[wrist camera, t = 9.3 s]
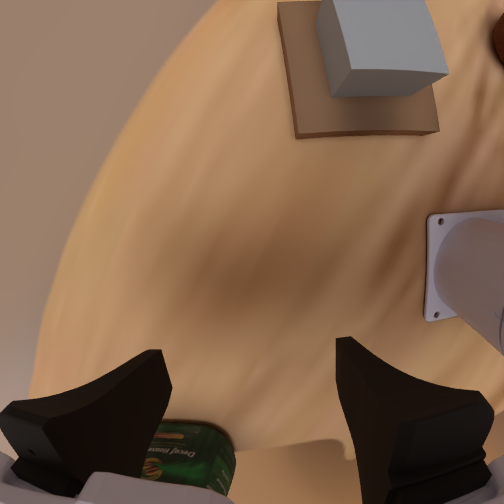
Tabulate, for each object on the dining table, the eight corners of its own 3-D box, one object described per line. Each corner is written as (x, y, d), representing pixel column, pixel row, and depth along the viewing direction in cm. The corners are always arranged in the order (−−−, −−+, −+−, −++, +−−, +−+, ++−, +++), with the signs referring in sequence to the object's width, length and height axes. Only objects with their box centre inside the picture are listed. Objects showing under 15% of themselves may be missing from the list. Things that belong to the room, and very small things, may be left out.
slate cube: (390, 26, 14) (419, -10, 9) (409, 96, 15) (449, 73, 10) (315, 25, 15) (326, -19, 10) (331, 97, 16) (351, 69, 11)
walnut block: (396, 25, 16) (410, 8, 13) (419, 136, 18) (439, 131, 15) (277, 22, 17) (277, 2, 14) (295, 140, 19) (298, 133, 16)
